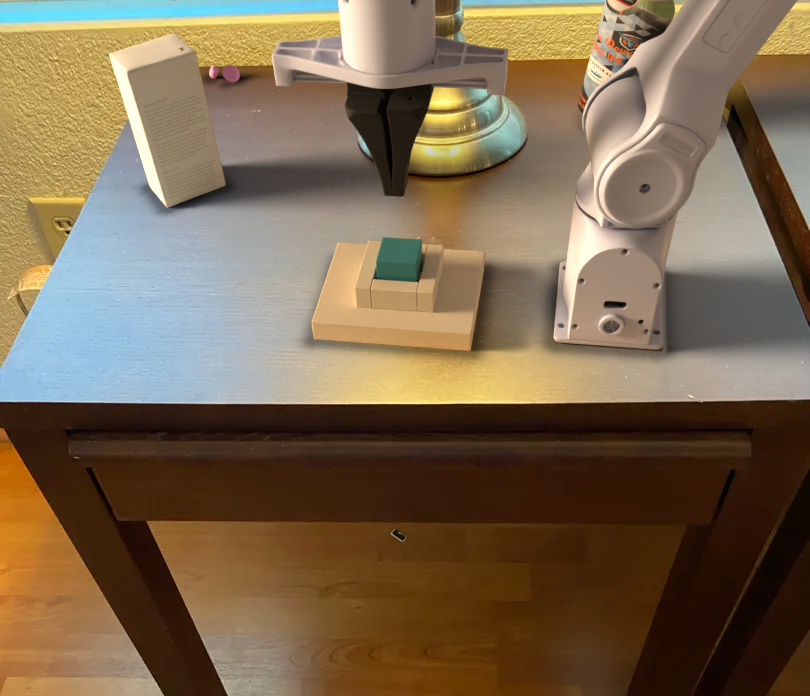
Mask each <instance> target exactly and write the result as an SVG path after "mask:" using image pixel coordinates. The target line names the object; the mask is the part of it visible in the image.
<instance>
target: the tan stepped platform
mask: <svg viewBox="0 0 810 696" xmlns="http://www.w3.org/2000/svg"><path fill="white" fill-rule="evenodd" d="M381 242H382V240H368V241H367V243H357V242H343V241H342V242H341V241H340V242H339V241H338V242H337V244H336V247H335V250H334V253H333V256H332V258H331V262H330V265H329V268H328V271H327V274H326V276H325V280H324V283H323V286H322V289H321V291H320V295H319V298H318V301H317V305H316V308H315V311H314V314H313V316H312V320H311V328H312V329H311V330H312V335H313V339H314V340H324V341H334V342H335V341H337V342H348V343H359V344H361V343H362V344H375V345H387V346H398V347H399V346H402V347H415V348H425V349H426V348H427V349H440V350H451V351H454V350H455V351H465V352H467V351H468V352H470V351H471V350H472V346H473V345H472V344H473V338H474V333H475V327H476V321H477V314H478V308H479V303H480V296H481V290H482V284H483V280H484V279H483V278H484V273H485V263H486V262H485V261H486V260H485V259H486V252H485V251H484V250H483V251H481V250H468V249H452V248H444V245H443V244H432V243H422V263H421V267H420V271H419V275H418V280H417V282H407V281H392V280H377V269H376V260H377V256H378V253H379V249H380V245H381Z"/></svg>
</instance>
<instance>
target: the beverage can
mask: <svg viewBox="0 0 810 696" xmlns="http://www.w3.org/2000/svg"><path fill="white" fill-rule="evenodd" d="M675 15H676V6H675V1H674V0H605V1H604V5H603V8H602V13H601V17H600V20H599V23H598V28H597V31H596V33H595V38H594V41H593V45H592V49H591V53H590V57H589V59H588V64H587V68H586V71H585V75H584V78H583V82H582V86H581V89H580V93H579V97H578V100H577V108H578V110H579V112H580V113H581V114H582V115H583V112H584V108H585V105H586V103H587V101H588V99H589V97H590V95H591V94H592V92H593V91H594V90H595V89H596V88H597V86H599V85H600V84H601V83H602V82H603V81H604V80H606V79H607V78H609V77H610V76H612V75H613V74H615V73H616V72H618V71H619V70H620V69H621V68H623V66H624V65H625V64H626V63H627V62H628V61H629V59H630V58H631V57H632V55H633V54H634V52H635V51H636V49H637V48H638V46H639V45H641V44H642V43H644V42H646V41H648V40H650V39H653V38H655V37H657V36H659V35H661V34H663V33H664V32H665V31H666V29H667V28H668V26H669V25H670V23H671V22H672V20H673V19H674V17H675Z"/></svg>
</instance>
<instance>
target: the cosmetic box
mask: <svg viewBox="0 0 810 696" xmlns="http://www.w3.org/2000/svg"><path fill="white" fill-rule="evenodd" d="M109 59H110V62H111V66H112V69H113V72H114V76H115V79H116V82H117V85H118V89H119V91H120V94H121V98H122V101H123V105H124V107H125V111H126V114H127V117H128V120H129V123H130V124H129V125H130V126H131V130H132V133H133V134H132V135H133V136H134V140H135V144H136V147H137V150H138V153H139V156H140V160H141V163H142V167H143V169H144V172H145V175H146V178H147V182H148V185H149V188H150V189H151V190H152V192H153V193H154V194H155V195H156V196H157V198H158V199H159V200H160V201H161V202H162V203H163V205H164V206H165V207H166V208H171V207H173V206H176V205H179V204H181V203H184V202H186V201H189V200H192V199H194V198H196V197H200V196H202V195H206V194H207V193H211V192H213V191H215V190H218V189H220V188H224V187H226V185H227V183H226V178H225V173H224V170H223V166H222V161H221V157H220V152H219V148H218V145H217V139H216V136H215V135H216V134H215V130H214V126H213V121H212V117H211V113H210V108H209V104H208V100H207V95H206V91H205V86H204V83H203V82H204V81H203V78H202V74H201V70H200V65H199V61H198V55H197V51H196V50H194V49H193V48H192V47H191V46H190V45H189V44H188V43H187V42H185V40H184V39H182V38H181V37H180V36H179V35H178V34H176V33H175V32H172V33H170V34H169V33H168V34H166V35H163V36H161V37H157V38H154V39H151V40H148V41H144V42H142V43H138V44H134V45H131V46H129V47H128V46H127V47H125V48H123V49H119V50H116V51H112V52H110V53H109Z"/></svg>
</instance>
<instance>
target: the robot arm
mask: <svg viewBox="0 0 810 696" xmlns="http://www.w3.org/2000/svg"><path fill="white" fill-rule="evenodd" d="M798 1H799V0H684V2H683V3H682V5H681V6H680V8H679V9H678V11H677V13H675V15H674V17H673V20H672V22H671V23H670V25H669V26H668V28H667V29H666V31H665V32H664V33H663V34H661V35H659V36H657V37H655V38H653V39H650V40H648V41H646V42H644V43H642V44H641V45H639V46H638V48H637V49H636V51H635V52H634V54H633V55H632V57H631V58H630V59H629V61H628V62H627V63H626V64H625V65H624V66H623V68H621V69H620V70H619V71H618V72H616V73H615V74H613V75H612V76H610V77H609V78H607V79H606V80H604V81H603V82H602V83H601V84H600V85H599V86H597V88H596V89H595V90H594V91H593V92H592V94H591V95H590V97H589V99H588V101H587V103H586V105H585V108H584V112H583V114H582V119H581V120H582V121H581V123H582V132H583V134H584V138H585V140H586V143H587V148H588V154H589V160H590V161H589V162H588V164H587V166H586V168H585V169H584V171H583V173H582V174H581V176H580V177H579V179H578V181H577V182H576V186H575V191H574V192H575V194H574V201H573V208H572V216H571V225H570V232H569V239H568V246H567V247H568V248H567V256H566V260H563V261H561V262H559V267H558V268H559V269H558V278H557V279H558V281H557V292H556V303H555V313H554V314H555V315H554V327H553V337H552V338H553V340H554V341H555V342H556V343H562V344H575V345H576V344H577V345H587V346H588V345H589V346H604V347H615V348H630V349H640V350H641V349H642V350H656V351H657V350H660V349H662V348H663V346H664V313H663V312H664V309H663V308H664V305H663V287H664V282H665V269H666V265H667V260H668V257H669V252H670V248H671V244H672V240H673V235H674V232H675V227H676V223H677V218H678V214H679V211H680V210H681V209H682V208H683V207H684V205H685V204H686V203H687V201H688V200H689V199H690V196H691V194H692V192H693V189H694V186H695V182H696V179H697V174H698V171H699V168H700V166H701V165H702V163H703V161H704V159H705V158H706V157H707V155H708V154H709V153H710V152H711V150H712V149H713V147H715V144H716V142H717V139H718V135H719V132H720V128H721V123H722V119H723V114H724V111H725V108H726V107H725V106H726V103H727V98H728V95H729V92H730V90H731V89H732V88H733V86H734V85H735V83H736V82H737V81H738V79H739V78H740V77H741V75H742V74H743V73H744V72H745V70H746V69H747V68H748V66H749V65H750V63H752V61H753V60H754V58H755V57H756V56H757V55H758V54H759V52H760V51H761V49H762V48H763V46H765V44H766V43H767V41H768V40H769V39H770V37H772V35H773V33H774V32H775V31H776V30H777V28H778V27H779V26H780V24H781V23H782V21H783V20H784V19H785V18H786V17H787V15H788V14H789V13H790V11H791V10H792V8H793V7H794V6H795V5H796V3H797V2H798ZM337 3H338V14H339V26H340V35H333V36H326V37H325V36H324V37H318V38H309V39H302V40H301V39H299V40H279V41H278V42H277V44H276V46H275V48H274V49H273V52H272V54H271V61H272V66H273V67H272V68H273V74H274V79H275V86H276V87H292V86H294V84H295V83H296V82H297V83H298V82H299V83H300V82H301V83H319V84H321V83H322V84H323V83H325V84H345V85H346V90H347V91H346V99H345V101H344V110H345V114H346V117H347V119H348V120H349V122H350V123H351V125H352V126H353V127H354V129H355V130H356V131H357V133H358V134H359V136H360V137H361V139H362V141H363V143H364V144H365V146H366V148H367V150H368V152H369V154H370V156H371V159H372V161H373V164H374V166H375V169H376V171H377V174H378V177H379V180H380V183H381V188H382V191H383V192H382V193H383V196H385V197H398V198H403V197H405V194H406V190H407V186H408V184H409V171H410V163H411V157H412V151H413V148H414V145H415V142H416V139H417V136H418V135H419V132H420V130H421V128H422V125H423V123H424V121H425V119H426V116H427V114H428V111H429V108H430V104H431V101H432V97H433V92H434V89H435V88H446V89H466V90H467V89H468V90H486V93H487V95H489V96H504V95H505V94H506V93H505V92H506V88H507V81H508V68H509V67H508V66H509V51H510V50H509V49H508V48H502V47H501V48H500V47H489V46H484V45H479V44H473V43H468V42H464V41H459V40H456V39H455V40H454V39H450V38H445V37H441V36H437V35H436V0H337Z"/></svg>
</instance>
